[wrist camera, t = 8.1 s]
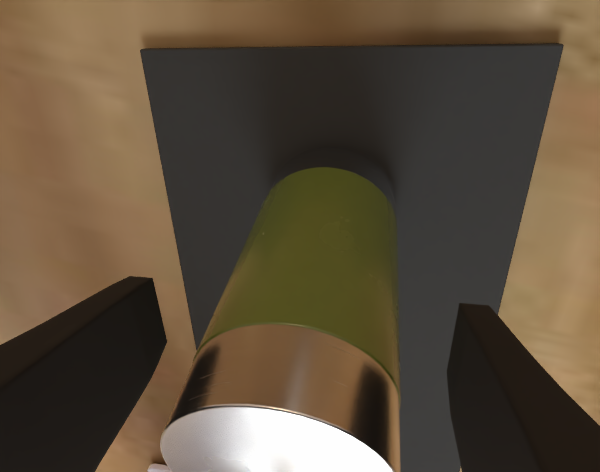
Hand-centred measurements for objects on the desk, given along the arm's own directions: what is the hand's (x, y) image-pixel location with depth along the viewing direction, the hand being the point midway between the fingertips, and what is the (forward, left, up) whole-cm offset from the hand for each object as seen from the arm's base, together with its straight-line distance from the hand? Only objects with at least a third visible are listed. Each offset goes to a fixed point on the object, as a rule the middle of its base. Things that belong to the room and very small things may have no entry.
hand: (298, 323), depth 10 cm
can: (0, 0, -7) cm, 7 cm away
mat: (-6, 0, -8) cm, 10 cm away
